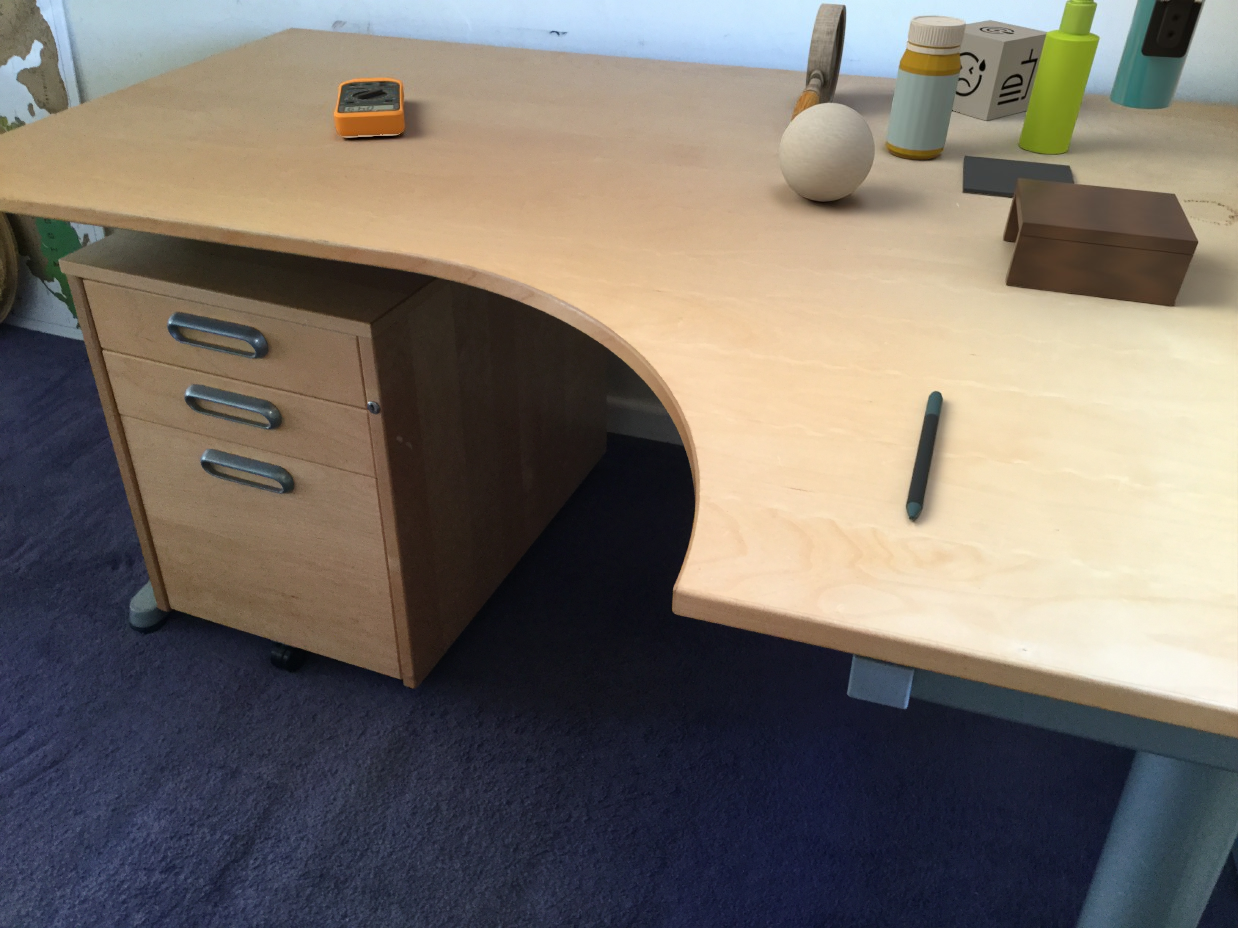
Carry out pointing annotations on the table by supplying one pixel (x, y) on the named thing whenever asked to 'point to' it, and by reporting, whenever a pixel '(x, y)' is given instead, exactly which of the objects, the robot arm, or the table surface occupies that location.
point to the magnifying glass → (823, 57)
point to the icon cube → (997, 69)
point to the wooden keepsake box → (1098, 241)
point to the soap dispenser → (1060, 81)
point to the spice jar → (1146, 67)
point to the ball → (826, 152)
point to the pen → (924, 456)
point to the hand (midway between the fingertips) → (1157, 46)
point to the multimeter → (370, 107)
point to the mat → (1007, 174)
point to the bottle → (925, 87)
